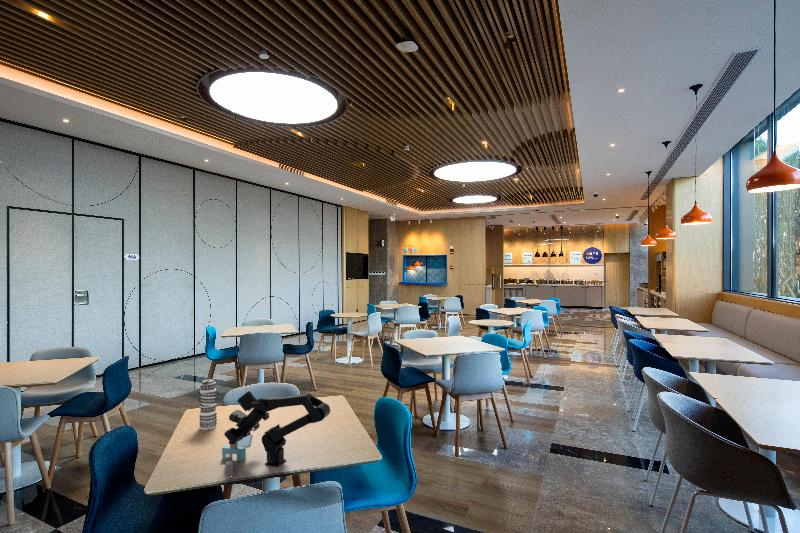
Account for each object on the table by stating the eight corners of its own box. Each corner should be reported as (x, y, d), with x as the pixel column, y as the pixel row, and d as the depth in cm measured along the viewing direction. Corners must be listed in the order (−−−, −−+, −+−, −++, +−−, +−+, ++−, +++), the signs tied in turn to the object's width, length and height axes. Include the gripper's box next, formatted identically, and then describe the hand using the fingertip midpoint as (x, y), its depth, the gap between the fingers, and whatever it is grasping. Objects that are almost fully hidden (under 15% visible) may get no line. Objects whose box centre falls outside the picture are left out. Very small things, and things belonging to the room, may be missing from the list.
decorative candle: (201, 431, 221) (201, 383, 221) (196, 427, 228) (196, 380, 228) (219, 427, 227) (219, 380, 227) (214, 422, 234) (213, 377, 234)
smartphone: (233, 448, 197) (237, 435, 212) (233, 450, 197) (237, 437, 212) (250, 446, 199) (252, 434, 214) (250, 448, 199) (252, 436, 214)
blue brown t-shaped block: (245, 458, 186) (245, 434, 186) (242, 461, 184) (242, 436, 184) (225, 456, 188) (225, 433, 189) (222, 459, 186) (222, 435, 186)
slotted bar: (225, 466, 179) (225, 454, 179) (232, 464, 180) (232, 453, 180) (226, 478, 168) (226, 465, 168) (233, 476, 169) (233, 464, 169)
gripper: (253, 398, 195) (232, 421, 197) (228, 411, 177) (205, 436, 179) (269, 417, 193) (247, 439, 195) (245, 431, 175) (221, 456, 177)
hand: (231, 442), depth 187 cm, fingers closed on blue brown t-shaped block, 2 cm apart
